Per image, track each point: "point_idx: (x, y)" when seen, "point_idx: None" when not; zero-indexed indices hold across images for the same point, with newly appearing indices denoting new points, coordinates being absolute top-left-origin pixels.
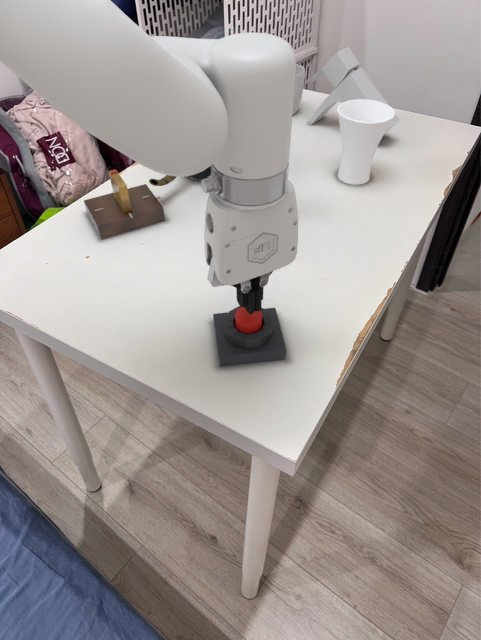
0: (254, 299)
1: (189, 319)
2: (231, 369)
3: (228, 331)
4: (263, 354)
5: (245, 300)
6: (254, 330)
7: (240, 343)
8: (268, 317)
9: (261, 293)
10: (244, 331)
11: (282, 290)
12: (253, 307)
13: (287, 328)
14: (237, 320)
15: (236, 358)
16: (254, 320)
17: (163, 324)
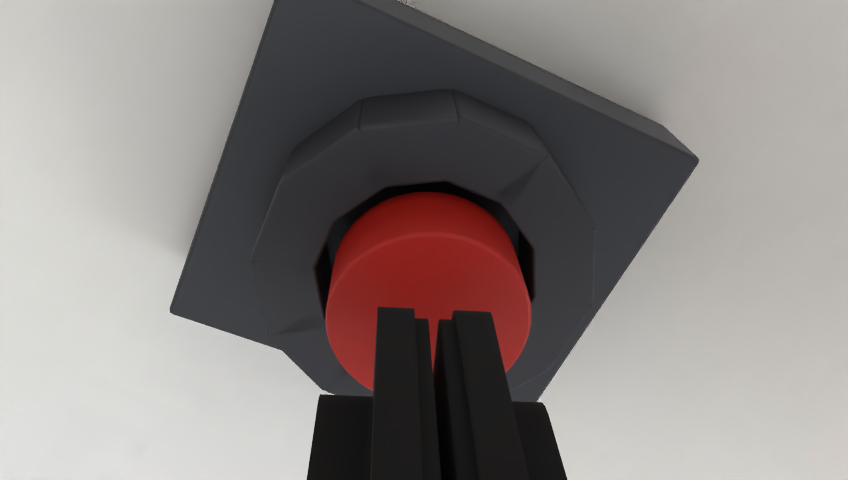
0: (460, 433)
1: (584, 444)
2: (620, 79)
3: (588, 282)
4: (441, 35)
5: (526, 458)
6: (439, 202)
7: (560, 169)
8: (278, 253)
9: (375, 473)
10: (502, 230)
11: (56, 395)
12: (466, 356)
13: (160, 164)
14: (528, 322)
15: (598, 106)
16: (423, 263)
17: (696, 469)
